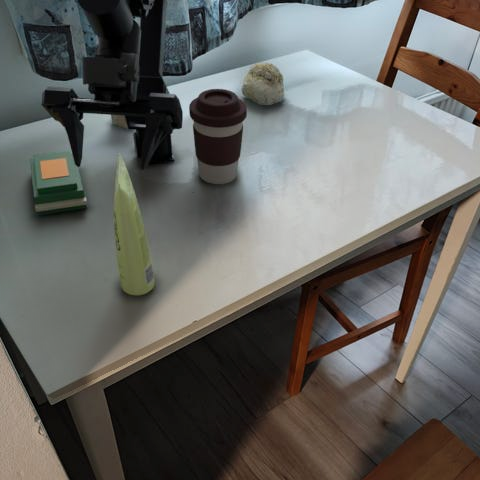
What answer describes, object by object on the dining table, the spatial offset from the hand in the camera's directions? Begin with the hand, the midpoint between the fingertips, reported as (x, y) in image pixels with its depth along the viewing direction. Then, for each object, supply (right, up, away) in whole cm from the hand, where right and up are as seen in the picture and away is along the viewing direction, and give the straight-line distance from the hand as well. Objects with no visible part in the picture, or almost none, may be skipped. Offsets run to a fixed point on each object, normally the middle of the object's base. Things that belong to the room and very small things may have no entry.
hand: (110, 167), depth 74 cm
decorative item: (+24, +31, +50) cm, 64 cm away
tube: (+3, -16, +5) cm, 17 cm away
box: (-6, +21, +39) cm, 45 cm away
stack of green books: (-14, +2, +20) cm, 25 cm away
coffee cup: (+14, +6, +26) cm, 30 cm away
